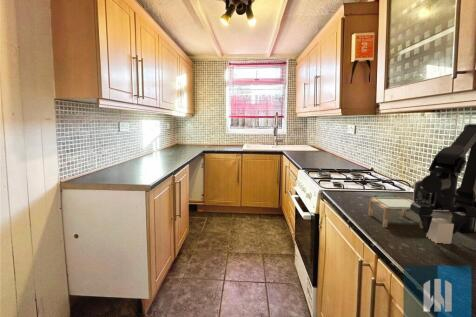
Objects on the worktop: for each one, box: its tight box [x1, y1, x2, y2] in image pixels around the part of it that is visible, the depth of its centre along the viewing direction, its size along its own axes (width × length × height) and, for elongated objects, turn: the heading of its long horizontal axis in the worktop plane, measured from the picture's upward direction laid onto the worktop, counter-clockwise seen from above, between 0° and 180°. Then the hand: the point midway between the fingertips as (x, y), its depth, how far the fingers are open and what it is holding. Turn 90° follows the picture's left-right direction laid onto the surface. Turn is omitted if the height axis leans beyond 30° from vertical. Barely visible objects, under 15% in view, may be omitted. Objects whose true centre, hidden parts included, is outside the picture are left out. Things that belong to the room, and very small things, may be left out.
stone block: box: [425, 217, 454, 245], centre depth 94 cm, size 5×5×7 cm
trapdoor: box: [377, 199, 412, 211], centre depth 109 cm, size 10×12×1 cm
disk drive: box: [373, 194, 399, 198], centre depth 134 cm, size 10×3×15 cm
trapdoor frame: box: [367, 196, 423, 229], centre depth 110 cm, size 13×15×8 cm
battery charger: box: [412, 179, 431, 205], centre depth 133 cm, size 7×4×11 cm, turn 73°
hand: (439, 233), depth 94 cm, fingers open, 9 cm apart
